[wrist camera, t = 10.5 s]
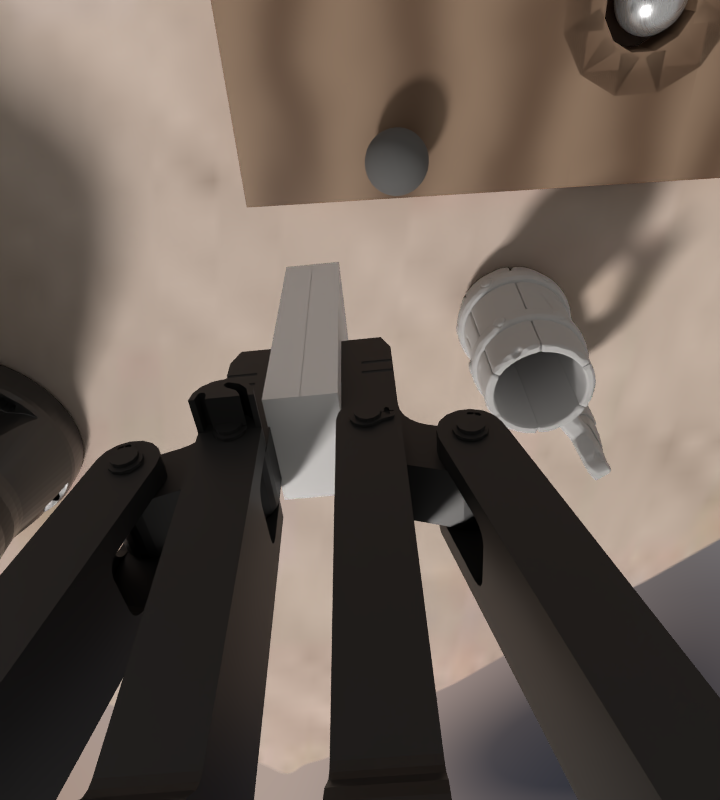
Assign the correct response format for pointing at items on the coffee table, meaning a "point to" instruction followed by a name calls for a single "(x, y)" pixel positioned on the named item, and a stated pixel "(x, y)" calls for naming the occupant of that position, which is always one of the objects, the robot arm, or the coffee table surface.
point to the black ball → (396, 161)
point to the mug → (531, 359)
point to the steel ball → (647, 15)
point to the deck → (465, 95)
